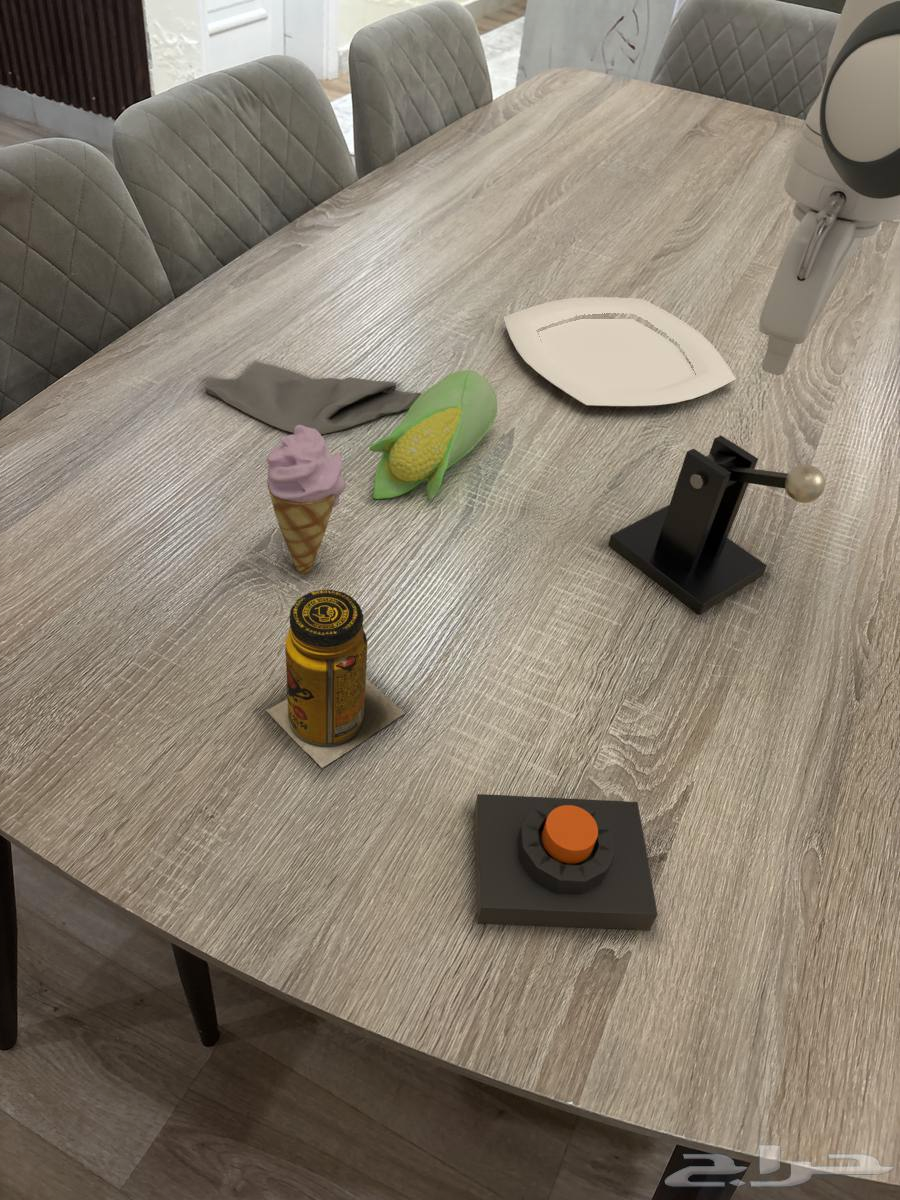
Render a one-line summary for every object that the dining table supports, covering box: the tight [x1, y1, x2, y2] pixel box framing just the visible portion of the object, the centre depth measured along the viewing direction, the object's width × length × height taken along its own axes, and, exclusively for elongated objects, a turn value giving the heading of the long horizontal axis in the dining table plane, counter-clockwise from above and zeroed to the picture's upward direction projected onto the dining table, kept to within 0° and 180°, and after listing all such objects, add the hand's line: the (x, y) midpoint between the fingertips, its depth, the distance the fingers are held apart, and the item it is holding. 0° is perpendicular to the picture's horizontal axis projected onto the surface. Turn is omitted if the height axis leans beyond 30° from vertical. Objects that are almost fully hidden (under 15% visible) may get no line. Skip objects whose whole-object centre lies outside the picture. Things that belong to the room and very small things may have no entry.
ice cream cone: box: [266, 425, 347, 575], centre depth 83 cm, size 7×6×15 cm
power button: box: [542, 805, 598, 864], centre depth 64 cm, size 4×4×2 cm
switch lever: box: [705, 453, 826, 504], centre depth 83 cm, size 12×3×3 cm, turn 40°
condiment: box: [265, 589, 406, 769], centre depth 72 cm, size 7×8×12 cm
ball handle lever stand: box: [607, 435, 768, 616], centre depth 89 cm, size 12×10×13 cm
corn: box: [369, 369, 498, 500], centre depth 100 cm, size 8×8×20 cm
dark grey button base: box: [473, 793, 658, 931], centre depth 66 cm, size 12×9×4 cm
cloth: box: [204, 361, 422, 435], centre depth 107 cm, size 26×14×2 cm, turn 81°
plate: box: [503, 296, 737, 408], centre depth 121 cm, size 27×27×2 cm
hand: (786, 346), depth 78 cm, fingers open, 8 cm apart
